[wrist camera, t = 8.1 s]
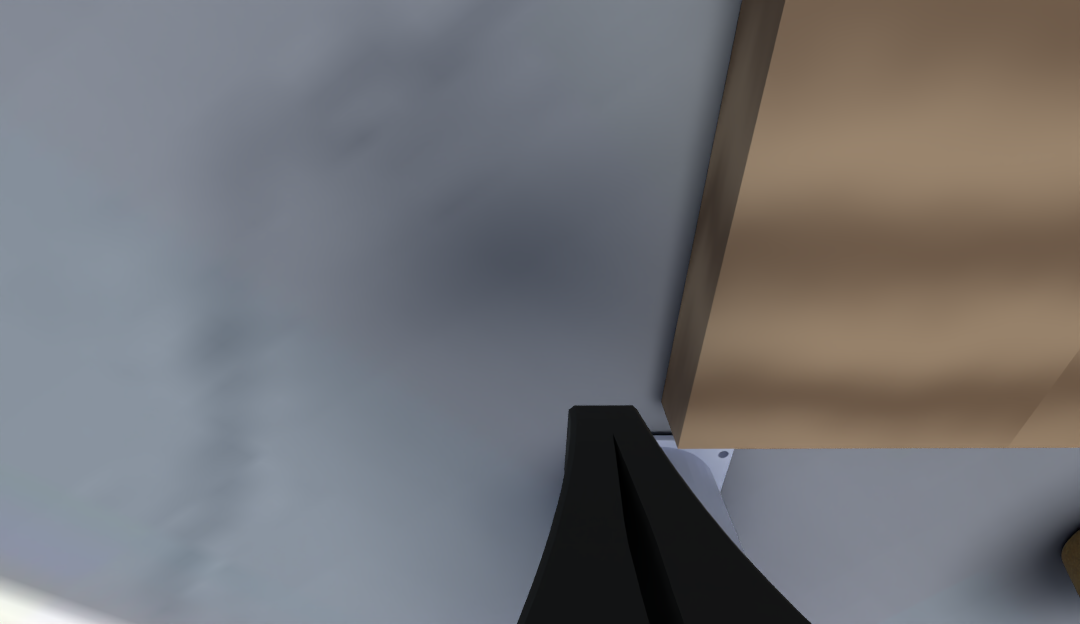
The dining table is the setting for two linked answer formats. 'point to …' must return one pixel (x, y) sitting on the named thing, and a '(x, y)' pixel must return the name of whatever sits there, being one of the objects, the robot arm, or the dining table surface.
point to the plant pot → (1073, 559)
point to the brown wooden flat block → (888, 232)
